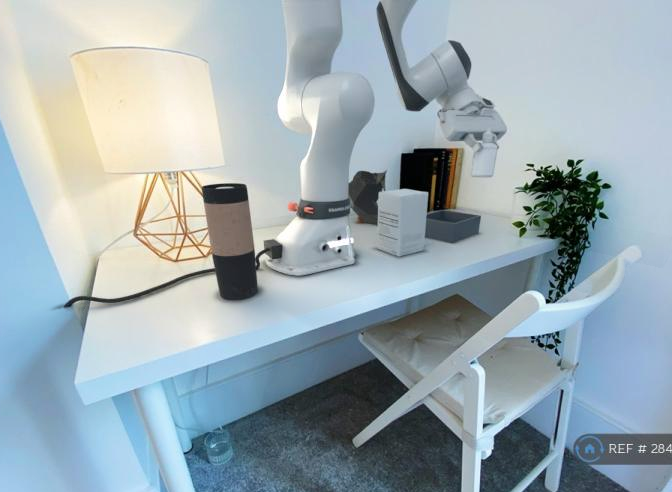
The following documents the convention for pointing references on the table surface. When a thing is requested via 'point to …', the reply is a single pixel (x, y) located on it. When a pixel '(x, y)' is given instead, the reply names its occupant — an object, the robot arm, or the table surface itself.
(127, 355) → the table surface
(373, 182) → the dark grey faceted sculpture
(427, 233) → the grey open rectangular box
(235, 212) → the travel mug
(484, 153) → the eye dropper bottle
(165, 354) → the table surface
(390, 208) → the white product box
